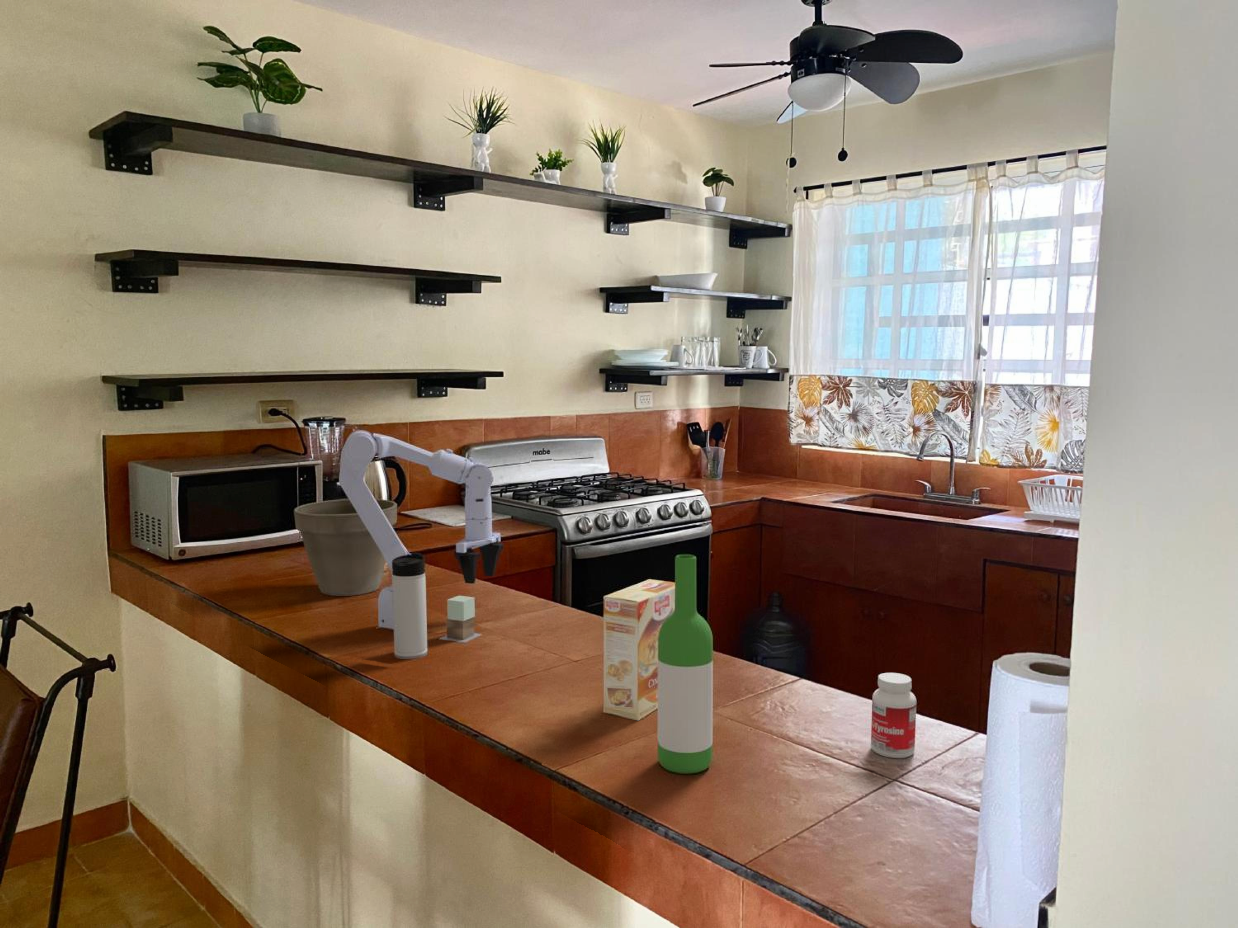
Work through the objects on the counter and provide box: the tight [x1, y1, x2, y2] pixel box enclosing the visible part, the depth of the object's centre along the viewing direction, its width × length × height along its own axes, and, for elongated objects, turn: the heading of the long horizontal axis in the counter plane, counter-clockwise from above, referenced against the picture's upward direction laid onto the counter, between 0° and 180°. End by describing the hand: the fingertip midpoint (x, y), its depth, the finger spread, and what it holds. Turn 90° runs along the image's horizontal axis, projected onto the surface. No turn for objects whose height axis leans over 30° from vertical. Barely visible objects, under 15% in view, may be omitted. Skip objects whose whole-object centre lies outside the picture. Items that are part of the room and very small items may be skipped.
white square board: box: [438, 632, 483, 644], centre depth 193 cm, size 12×12×1 cm
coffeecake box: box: [603, 578, 675, 721], centre depth 156 cm, size 15×7×20 cm, turn 148°
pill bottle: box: [870, 672, 917, 759], centre depth 136 cm, size 6×6×11 cm
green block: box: [446, 595, 476, 621], centre depth 193 cm, size 4×4×4 cm
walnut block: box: [446, 617, 475, 640], centre depth 193 cm, size 4×4×4 cm
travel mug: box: [391, 552, 428, 660], centre depth 181 cm, size 6×7×20 cm
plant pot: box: [293, 498, 398, 597], centre depth 236 cm, size 25×25×22 cm
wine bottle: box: [657, 553, 714, 775], centre depth 131 cm, size 8×8×30 cm
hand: (479, 579), depth 205 cm, fingers open, 7 cm apart
